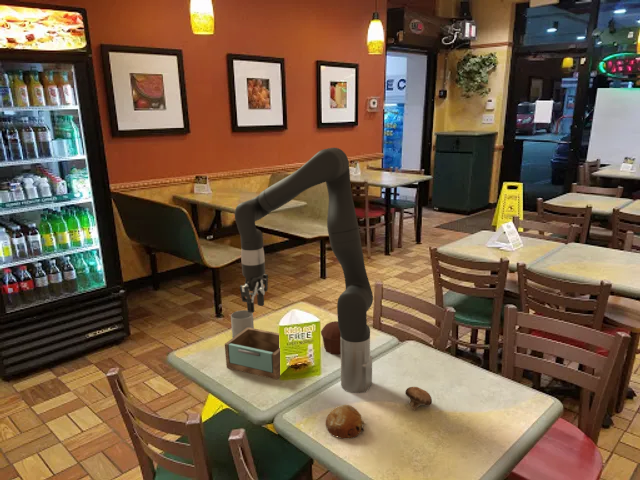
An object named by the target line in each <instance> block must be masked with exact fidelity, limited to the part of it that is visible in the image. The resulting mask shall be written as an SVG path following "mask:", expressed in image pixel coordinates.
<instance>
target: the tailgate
mask: <svg viewBox="0 0 640 480" xmlns="http://www.w3.org/2000/svg"><path fill="white" fill-rule="evenodd" d="M272 354H273V352H269V351H264V350H260V349H255V348H250V347H246V346H241V345H237V344H232V343H230V344H229V357H230V363H233V364H238V365H242V366H246V367H250V368H255V369H259V370H263V371H267V372H273V358H272Z"/></svg>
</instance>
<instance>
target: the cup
mask: <svg viewBox="0 0 640 480" xmlns="http://www.w3.org/2000/svg"><path fill="white" fill-rule="evenodd" d="M253 313H254V312H253ZM253 313H250V312H248V310H247V309H244V310H243V309H242V310H236V311H234V312H232V313H231V314H230V323H231V335H232V336H231V337H232V338H233V337H235V336H236V335H237V334H239V333H240V332H242V331H243V330H244V329H246V328H247V327H249V328H254V329H255V326H254V314H253ZM232 338H231V339H232Z"/></svg>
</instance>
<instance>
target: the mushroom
mask: <svg viewBox="0 0 640 480" xmlns="http://www.w3.org/2000/svg"><path fill="white" fill-rule="evenodd" d="M404 393H405V395H406V397H407V398H409V405H410V408H412V409H413V410H414V411H416V410H418V408H419V407H420V406H427V407H428V406H429V407H430V406H431V405H432V402H433V400H432V399H433V398H432V397H431V395H430V393H429V392H428V391H426V390H425V389H422V388H421V387H418V386H410V387H407V388H406V389H405V392H404Z"/></svg>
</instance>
